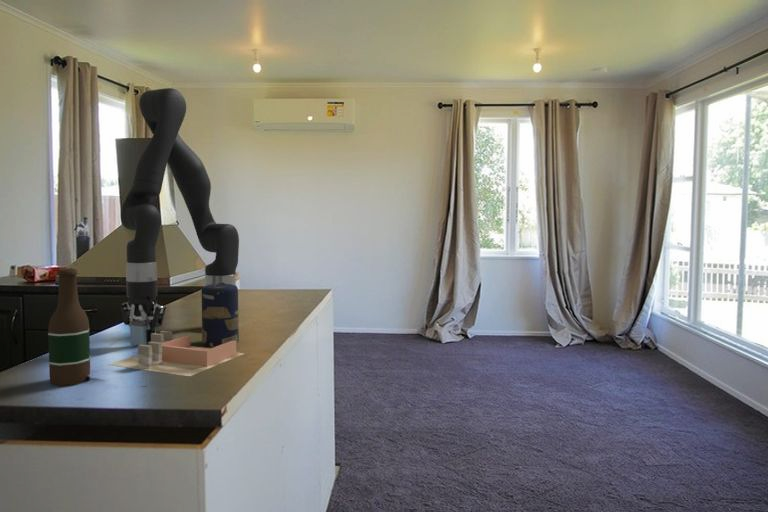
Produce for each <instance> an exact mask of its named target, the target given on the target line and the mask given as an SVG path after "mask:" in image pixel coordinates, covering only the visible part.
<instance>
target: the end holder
mask: <svg viewBox="0 0 768 512" xmlns="http://www.w3.org/2000/svg"><path fill="white" fill-rule="evenodd" d="M239 353H240V352H239V351H237V344H236V341H230V342H227V343H224V344H222V345H219V346H216V347H203V346H201V347H200V346H194V345H191V335H187V334H186V335H184V336H180V337H177V338H174V339H173V338H172V340H170V341H167V342H163V343H162V361H166V362H174V363H181V364H189V365H196V366H204V367H208V366H211V365H213V364H216V363H218V362H221V361H223V360H226V359H228V358H230V357H233V356H235V355H238V354H239Z"/></svg>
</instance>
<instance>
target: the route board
mask: <svg viewBox="0 0 768 512" xmlns="http://www.w3.org/2000/svg"><path fill="white" fill-rule="evenodd" d="M170 340H173V331H171V330H170V331H168V330H161V331H159V333H157V332H156V333H152V334H151V342H148V344H146V345H142V344H141V345H137V352H138V353H137V354H136V355H134V356H130V357H127V358H124V359H121V360H118V361H114V362H111V363H109V364H107V365H108V366H114V367H122V368H128V369H136V370H142V371H150V372H156V373H163V374H170V375H171V374H172V375H175V376H176V375H177V376H185V377H192V376H194V375H197V374H199V373H201V372H204V371H206V370H208V369H212V368H213V367H216V366H218V365H220V364H223V363H225V362H228V361H230V360H233V359H236V358H238V357H240V356H243V355H245V353H244V352H243V353H242V352H239V354H238V355H235V356H233V357H230V358H228V359H226V360H223V361H221V362H218V363H216V364H213V365H211V366H208V367H204V366H196V365H189V364H181V363H174V362H166V361H162V343H163V342H167V341H170Z"/></svg>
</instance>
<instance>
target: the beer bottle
mask: <svg viewBox="0 0 768 512" xmlns="http://www.w3.org/2000/svg"><path fill="white" fill-rule="evenodd" d="M56 275H57V276H58V277H59V278H58V297H57V299H58V300H57V306H56V309H55V311H54V312H53V314H52V315H51V317H50V320H49V322H48V327H47V328H48V329H47V330H48V331H47V338H48V339H47V340H48V341H47V342H48V365H49V366H48V367H49V369H48V370H49V382H50V383H49V384H50V385H51V386H55V385H56V386H57V387H67V386H77V385H80V384H82V383H86V382H88V381H89V380H90V374H91V350H90V349H91V348H90V347H91V346H90V345H91V344H90V343H91V342H90V341H91V340H90V322H89V317H88V315H87V313H86V311H85V310H84V309H83V308H82V306H81V305H80V300H79V293H78V283H77V275H78V271H77V268H60V269H58V270H57V274H56Z"/></svg>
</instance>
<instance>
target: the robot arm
mask: <svg viewBox="0 0 768 512" xmlns="http://www.w3.org/2000/svg"><path fill="white" fill-rule="evenodd" d="M138 102H139V110H140V112H141V113H140V114H141V115H142V117H143V119H144V121H145V123H146V125H147V126H148V128H149V130H150V132H151V133H152V138H151V139H150V140H149V143H148V144H147V146H146V147H145V149H144V150H143V152H142V153H141V155H140V157H139V159H138V162H137V165H136V168H135V173H134V176H133V177H134V178H133V181H132V187H131V188H130V189H129V191H128V194H127V195H126V198H125V200H124V202H123V203H122V207H121V209H120V222H121V223H122V226H123V227H124V228H125V229H127V230H130V231H135V234H134V238H133V239H131V240H129V241H128V242H127V244H126V269H125V270H126V271H125V275H126V277H125V284H126V286H125V288H126V297H127V298H128V300H127V302H122V303H119V308H120V312H121V317H122V322H123V324H124V326H129V328H130V322H131V321H135V320H140V319H143V321H144V322H146V328H147V330H146V340H147V343H148V342H151V334H152V333H155V329H156V330H157V328H159V327H162V325H163V321H164V317H165V312H166V309H167V308H166V307H167V306H166V305H164V304H163V305H160V304H158V301H157V299H156V297H157V296H158V268H157V267H158V266H157V258H156V257H157V254H156V253H157V252H156V249H157V248H156V246H157V242H158V239H159V235H160V231H161V225H162V217H161V214H160V211H159V210H158V208H157V207H156V206H154V205H152V204H150V203H151V202H152V200H153V199H156V198H158V197H159V196H160V194H161V192H162V188H163V183H164V178H165V174H166V168H167V166H168V167H169V169H170V171H171V173H172V176H173V179H174V181H175V183H176V186H177V188H178V191H179V192H180V194H181V197H182V198H183V201H184V203H185V205H186V209H187V211H188V212H189V215H190V217H191V221H192V224H193V227H194V230H195V232H196V233H195V234H196V236H197V238H198V241H199V244H200V246H201V247H202V249H204V250H205V252H209V253H215V258H214V260H213V262H211V263H209V264H207V265H205V268H204V275H205V279H204V282H205V283H204V284H205V285H204V286H206V285H212V284H216V283H218V282H224V283H225V284H232V285H235V286H237V284H236V282H237V281H236V280H237V279H236V278H237V277H236V274H237V273H236V270H237V267H238V265H239V249H240V248H239V247H240V237H239V232H238V230H237V228H236V227H235V225H233V224H230V223H217V222H216V221H215V219H214V217H213V214H212V212H211V208H210V197H211V190H212V185H211V179H210V177H209V174H208V171H207V170H206V167H205V165H204V163H203V161H202V160H201V158H200V157H199V156H198V155H197V154H196V153H195V151H194V150H192V148H190V147H189V146H188V144H187V143H186V142H185V141H184V140H183V139H182V137H181V136H180V134H179V132H180V129H181V127H182V124H183V121H184V119H185V117H186V112H187V102H186V99H185V97H184V95H183V94H182V93H181V91H179V90H177V89H175V88H172V87H170V88H167V87H166V88H159V89H152V90H151V89H150V90H147V91H144V92H142V94H141V95H140V98H139V101H138ZM219 284H222V283H219ZM150 321H151V324H150Z"/></svg>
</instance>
